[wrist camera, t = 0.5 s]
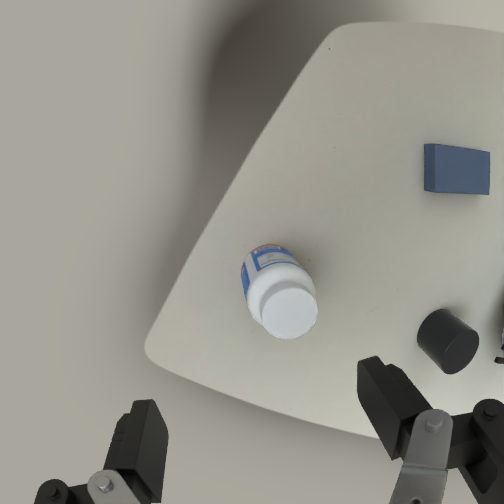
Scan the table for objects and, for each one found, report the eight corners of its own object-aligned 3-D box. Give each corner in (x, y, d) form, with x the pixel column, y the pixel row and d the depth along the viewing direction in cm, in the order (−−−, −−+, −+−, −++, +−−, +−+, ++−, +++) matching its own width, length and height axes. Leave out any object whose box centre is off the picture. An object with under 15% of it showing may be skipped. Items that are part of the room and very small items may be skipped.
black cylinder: (430, 304, 34) (459, 326, 29) (459, 313, 36) (486, 334, 30) (409, 346, 36) (433, 372, 30) (438, 352, 37) (462, 376, 31)
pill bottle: (274, 306, 32) (294, 360, 23) (229, 278, 31) (233, 327, 22) (307, 262, 31) (342, 304, 22) (263, 231, 30) (283, 264, 21)
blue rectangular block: (423, 190, 30) (434, 192, 29) (424, 143, 29) (434, 143, 27) (478, 192, 31) (489, 194, 29) (479, 151, 30) (490, 152, 28)
